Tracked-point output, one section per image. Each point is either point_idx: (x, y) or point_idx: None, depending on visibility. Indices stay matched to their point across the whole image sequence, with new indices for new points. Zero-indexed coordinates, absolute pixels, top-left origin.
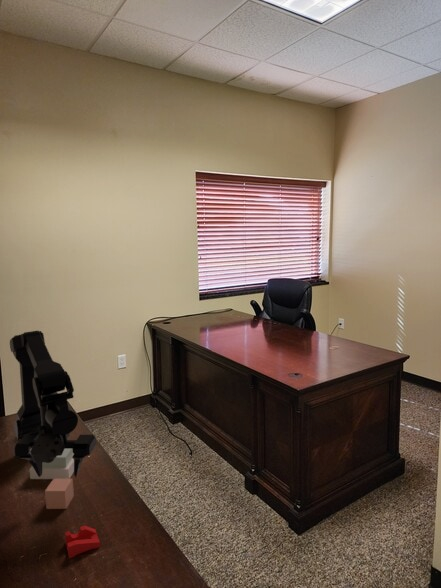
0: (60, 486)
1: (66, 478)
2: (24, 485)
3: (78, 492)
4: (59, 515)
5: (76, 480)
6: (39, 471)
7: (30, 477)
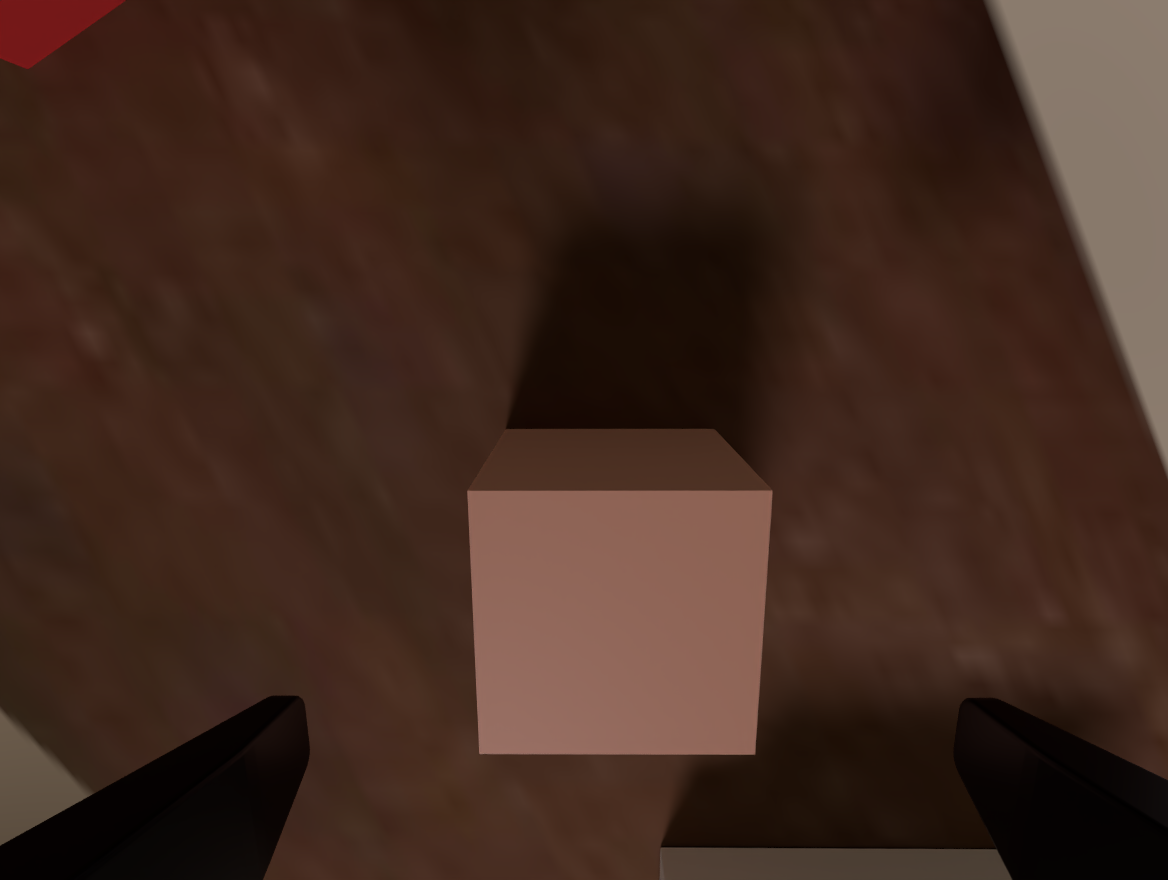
0: (578, 588)
1: (688, 852)
2: None
3: None
4: (533, 329)
5: (578, 827)
6: (1047, 777)
7: None
